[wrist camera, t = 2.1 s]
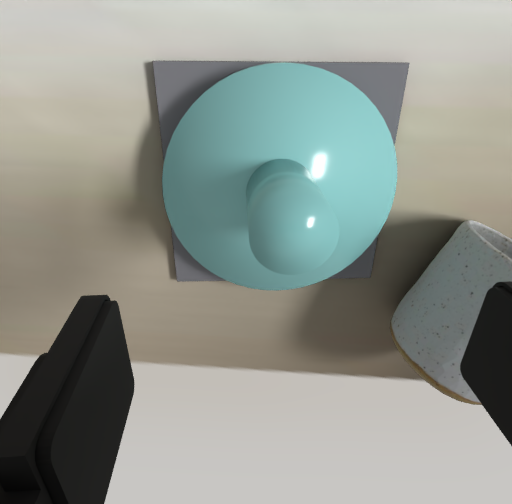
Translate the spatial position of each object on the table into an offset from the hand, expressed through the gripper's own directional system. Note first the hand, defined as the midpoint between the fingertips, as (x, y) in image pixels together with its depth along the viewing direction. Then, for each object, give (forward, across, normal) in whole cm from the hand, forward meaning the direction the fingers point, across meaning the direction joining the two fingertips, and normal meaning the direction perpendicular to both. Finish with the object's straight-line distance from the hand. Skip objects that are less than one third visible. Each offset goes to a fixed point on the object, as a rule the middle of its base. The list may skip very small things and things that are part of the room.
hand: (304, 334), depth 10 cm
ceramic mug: (+12, -14, +7) cm, 20 cm away
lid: (+12, -1, 0) cm, 12 cm away
